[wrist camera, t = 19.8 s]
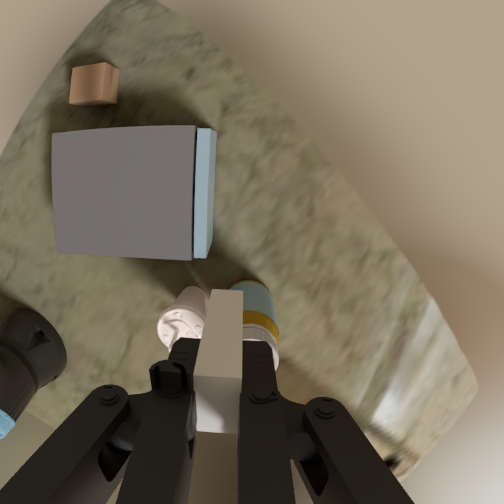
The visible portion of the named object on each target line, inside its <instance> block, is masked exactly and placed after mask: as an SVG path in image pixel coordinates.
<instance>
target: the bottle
mask: <svg viewBox="0 0 504 504" xmlns="http://www.w3.org/2000/svg"><path fill="white" fill-rule="evenodd" d="M228 290H241V291H243V338H242V340H250V341H267V343H268V344H269V345H270V346H271V347H272V350H273V358H274V366H275V371H276V369H277V367H278V363H279V356H278V349H277V345H278V341H279V333H278V327H277V321H276V315H275V310H274V304H273V298H272V295H271V293H270V291H269V289H268V288H267V287H266V286H264V285H263V284H262V283H259V282H257V281H253V280H244V281H239V282H237V283H235V284H233V285H232V286H231V287H230V288H229V289H228Z"/></svg>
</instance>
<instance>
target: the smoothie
mask: <svg viewBox="0 0 504 504" xmlns="http://www.w3.org/2000/svg"><path fill="white" fill-rule="evenodd" d="M205 318H206V296H205V293H204V291H203V290H202V289H201V288H199V287H197V286H188V287H186V288H185V289H184V290H183V291H182V292H181V293H180V295H179V296H178V297H177V298H176V300H175V301H174V302H173V303H172V305H171V306H170V307H169V308H167V309H166V310H164V311H163V312H162V314H161V315H160V317H159V320H158V323H157V332H158V335H159V337H160V339H161V341H162V342H163V343H164V344H165V345H166V346H167V347H169V349H168V350H169V352H171V348H172V346H173V343H174V342H175V341H177V340H178V339H179V338H180V337H186V338H199V339H201V336H202V332H203V327H204V323H205Z"/></svg>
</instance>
